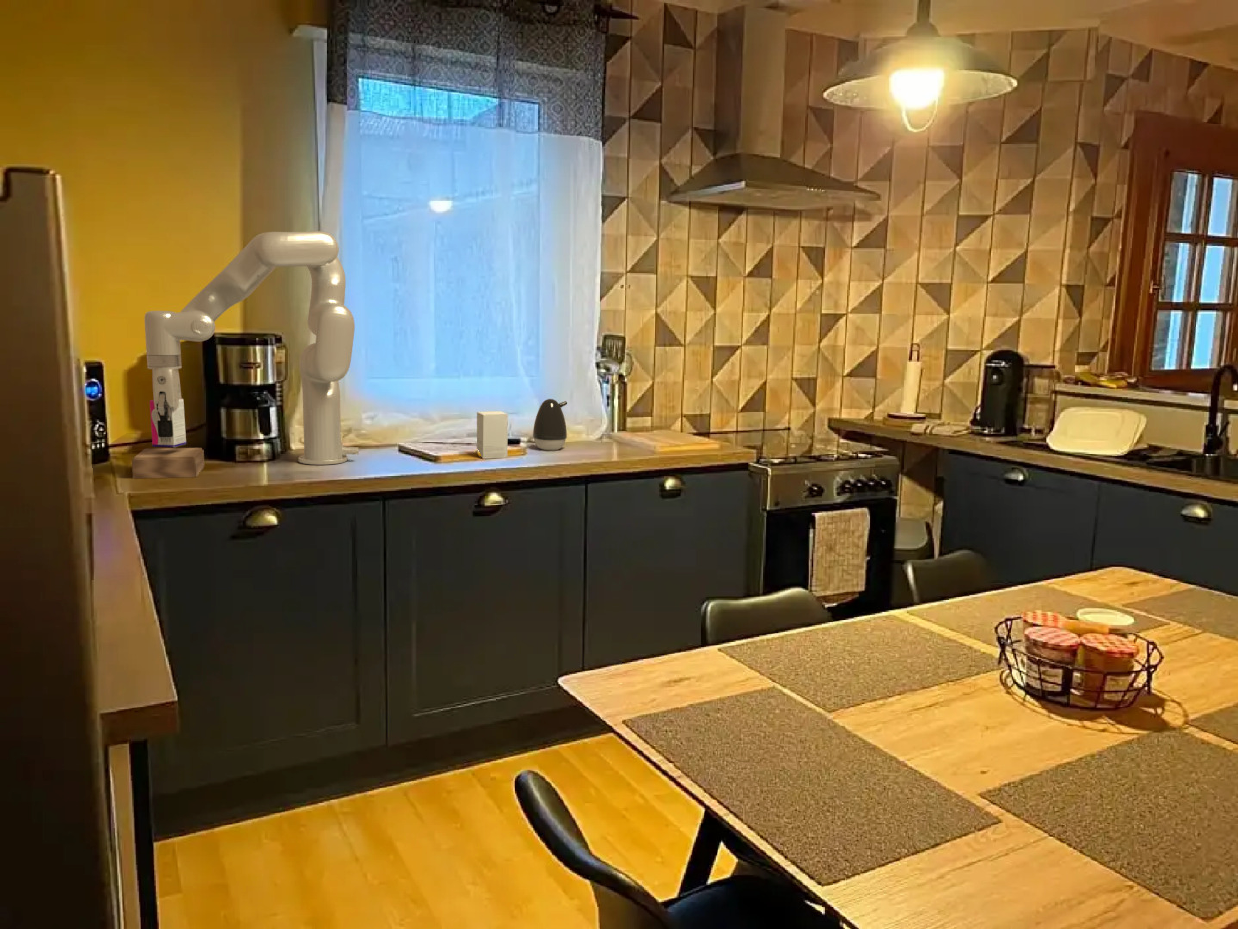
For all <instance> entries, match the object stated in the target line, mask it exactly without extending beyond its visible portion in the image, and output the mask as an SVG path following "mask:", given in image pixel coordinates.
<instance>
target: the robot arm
mask: <svg viewBox="0 0 1238 929" xmlns="http://www.w3.org/2000/svg"><path fill="white" fill-rule="evenodd" d="M339 248H340V247H339V244H338V242H337V240H336V238H335V237H334V236H333V235H332V234H331V233H329V232H327V231H321V230H319V231H318V230H314V231H267V232H262V233H259V234H257V235H256V236H254V237H253V238H252V239H251V240H250V241H249V242H248V243H247V244H246V246H244V248H242V250H241V251H240V252H239V253H238V254H237V255H236V256H235V257H234V258H233V259H232V260H231V261H230V262H229V263H228V264H227V265H226V266H225V267H224V268H223V269H222V270H221V271H220V272H219V273H218V274H217V275H216V276H215V277H214V278H213V279H212V280H210V282H209V283H208V284H206V286H204V288H202V289H201V290H200V291H199V292H198V293H197V294H196V295H194V297H193V298H192V299H191V300H190V301H189V302H188V303H187V304H186V305H185V307H183V308H182V310H181V311H180V312H176V311H170V310H150V311H147V312H146V313H145V314H144V332H145V349H146V350H145V351H146V361H147V362H146V363H147V364H146V365H147V369H148V370H152V377H151V378H152V392H153V393H152V394H153V400H154V406H155V408H156V409H157V408H158V409H157V410H158V421H157V422H158V436H159V437H172V436H173V425H172V420H171V408H173V409H174V410H176V409H177V408H178V407H179V399H183V397H182V390H181V389H182V387H181V382H180V381H181V379H180V373H179V369H182V367H183V366H182V353H181V351H182V349H181V341H188V342H189V341H190V342H199V343H200V342H204V341H205V342H206V341H207V340H209V339H210V338H212V336H213V335H214V334H215V331H216V324H215V322H216V321H217V320H218V319H219V317H220V316H222V315H223V313H225V312H226V311H227V310H229V309H230V308H231V307H233V306H234V305H236V304H239V303H240V302H242V301H244V300H246V298H248V297H250V296H251V295H252V294H253V292H254V291H255V290H256V289H257V288H258V287H259V286H260V285H261V284H262V283H263V281H264V280H265V279H266V278H267V277H268V276H269V275H270V274H272V272H273V271H274V270H275V269H276V268H278V267H279V268H280V267H283V268H284V267H286V268H290V267H293V268H294V267H306V268H307V270H308V271H309V274H310V276H311V277H310V278H311V291H310V292H311V293H310V300H309V308H308V315H307V327H308V328H309V330H310V332H311V333H312V334H313V335H315V336H316V337H315V342H314V343H311V344H309V345H307V346H306V347H305V348H304V349H303V350H302V352H301V354H300V355H299V362H298V363H299V365H298V366H299V373H300V379H301V389H302V392H301V393H302V412H303V413H302V416H303V418H302V420H303V422H302V423H303V426H302V427H303V448H304V449H303V453H304V454H303V455H300V456H298V458H297V459H298V463H301V464H305V465H322V466H323V465H336V464H341V463H346V462H347V461H348V456H347V455H359V447H358V446H357V447H355V446H345V445H343V442H342V434H341V432H342V430H341V429H342V427H341V391H340V384H339V381H341V380H342V379H343V378H344V377H345V376H347V374H348V372H349V370H350V366H351V361H352V353H353V346H354V339H355V325H356V324H355V318H354V315H353V313H352V311H351V310H350V309H349V307H347V306H346V305H345V299H346V298H345V297H346V275H345V274H346V273H345V270H344V266H343V264H342V263H341V260H340V258H339V257H338V255H339ZM157 404H158V406H157ZM167 405H169V408H165V406H167ZM167 412H168V415H167Z"/></svg>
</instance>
